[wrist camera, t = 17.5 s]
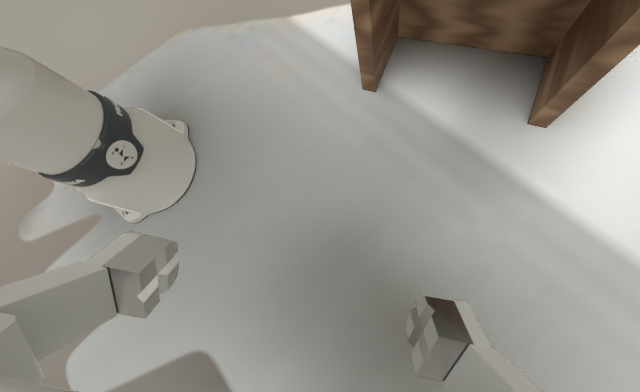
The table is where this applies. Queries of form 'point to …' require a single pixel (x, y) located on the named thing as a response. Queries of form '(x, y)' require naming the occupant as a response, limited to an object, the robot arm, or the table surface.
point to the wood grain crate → (508, 38)
